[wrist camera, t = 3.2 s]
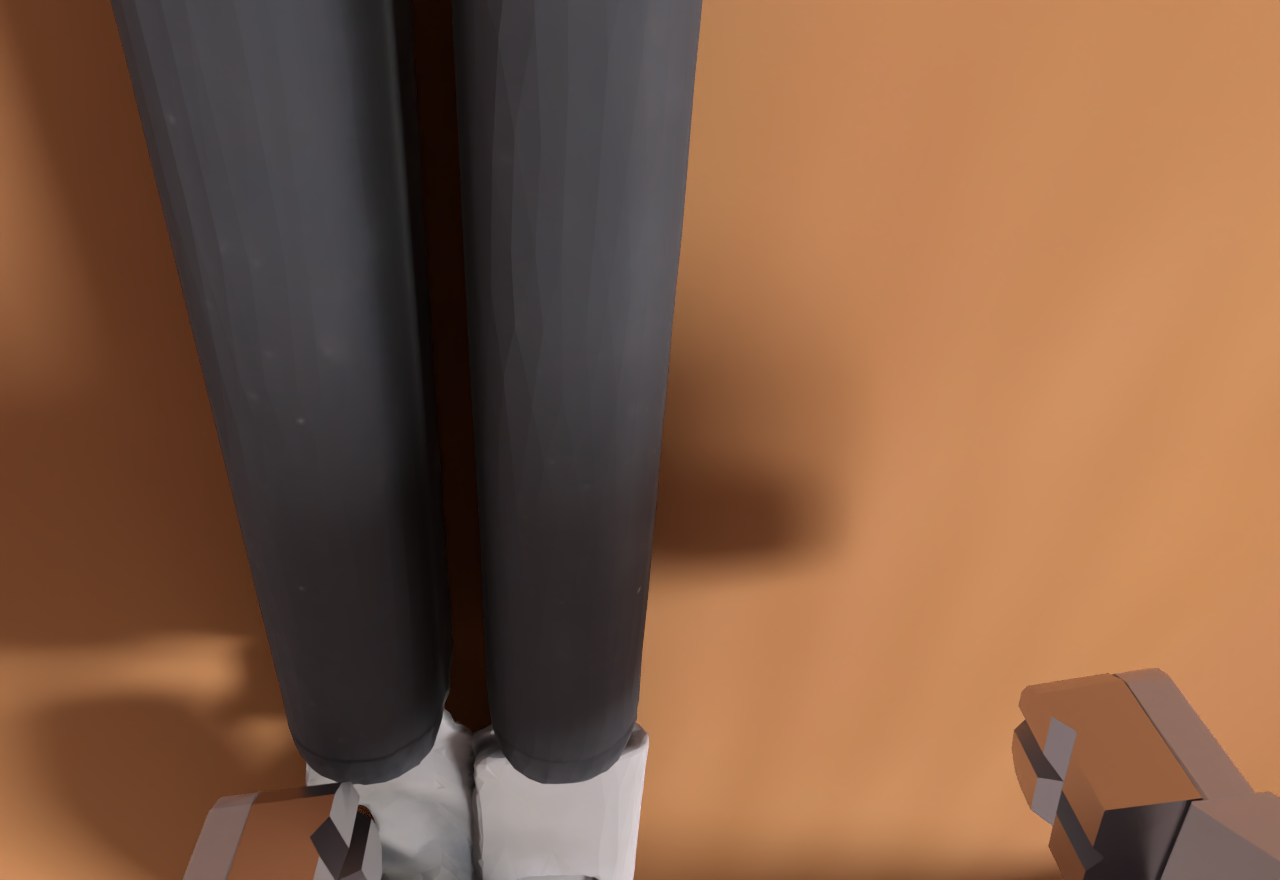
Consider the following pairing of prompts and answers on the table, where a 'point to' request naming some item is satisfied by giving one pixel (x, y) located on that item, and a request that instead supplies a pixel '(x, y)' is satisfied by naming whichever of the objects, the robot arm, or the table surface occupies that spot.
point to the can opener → (405, 389)
